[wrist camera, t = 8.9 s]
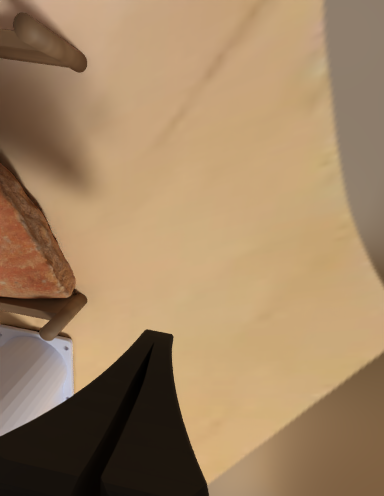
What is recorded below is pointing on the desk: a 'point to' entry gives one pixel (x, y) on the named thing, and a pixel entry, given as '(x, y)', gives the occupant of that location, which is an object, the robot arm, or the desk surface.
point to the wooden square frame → (58, 54)
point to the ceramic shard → (28, 248)
